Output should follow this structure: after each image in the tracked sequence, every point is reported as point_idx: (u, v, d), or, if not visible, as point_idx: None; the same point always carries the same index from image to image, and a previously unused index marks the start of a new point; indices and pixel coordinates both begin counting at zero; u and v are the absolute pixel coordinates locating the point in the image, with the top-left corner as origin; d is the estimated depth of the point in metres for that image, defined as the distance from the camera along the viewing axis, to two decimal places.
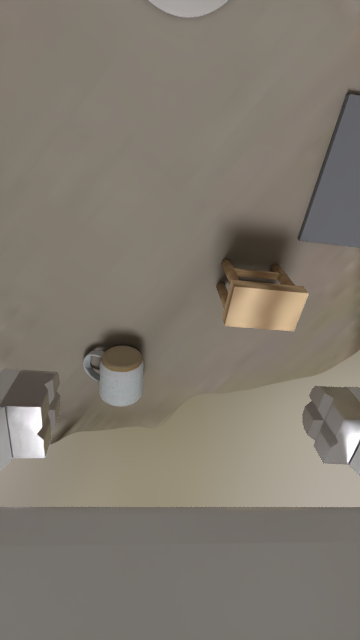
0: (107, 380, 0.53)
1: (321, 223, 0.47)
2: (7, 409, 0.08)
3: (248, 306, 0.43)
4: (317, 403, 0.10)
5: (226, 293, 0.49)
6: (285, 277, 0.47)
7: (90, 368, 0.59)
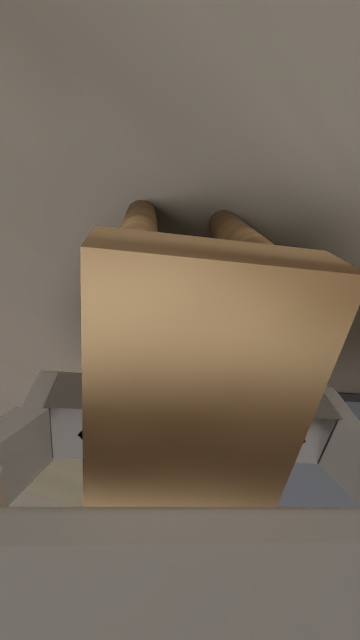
0: None
1: None
2: (51, 411, 0.08)
3: (227, 365, 0.08)
4: None
5: None
6: None
7: None
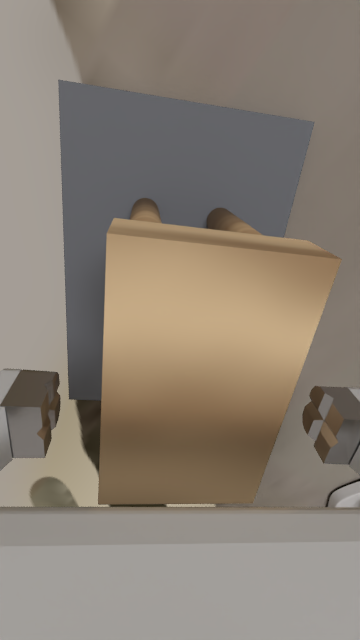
0: None
1: (255, 179, 0.17)
2: (7, 409, 0.08)
3: (224, 335, 0.09)
4: (317, 403, 0.10)
5: None
6: None
7: None
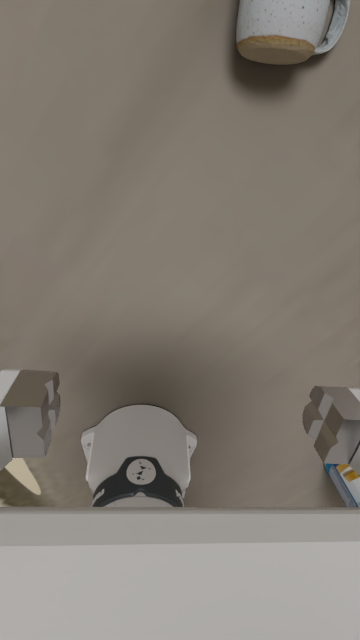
0: (321, 6, 0.25)
1: None
2: (7, 409, 0.08)
3: None
4: (317, 403, 0.10)
5: None
6: None
7: None
